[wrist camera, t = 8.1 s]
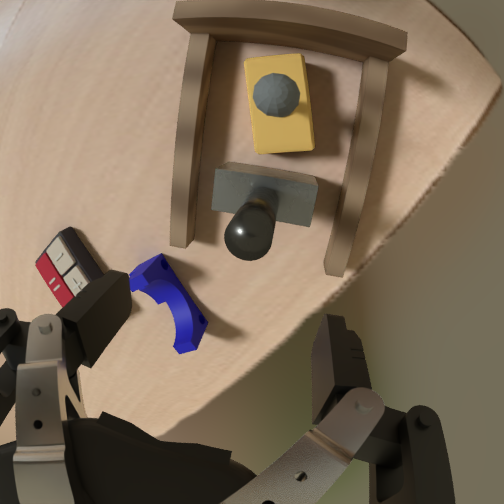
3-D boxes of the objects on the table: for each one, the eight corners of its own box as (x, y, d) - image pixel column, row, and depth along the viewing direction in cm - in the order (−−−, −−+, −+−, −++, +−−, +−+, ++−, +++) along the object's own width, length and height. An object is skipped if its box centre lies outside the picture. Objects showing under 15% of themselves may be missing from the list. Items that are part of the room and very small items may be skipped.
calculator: (56, 232, 34) (113, 317, 38) (74, 223, 38) (127, 302, 42) (31, 264, 38) (80, 336, 41) (47, 254, 42) (93, 322, 45)
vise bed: (202, 26, 24) (176, 1, 17) (381, 52, 23) (407, 32, 16) (178, 236, 35) (151, 265, 28) (339, 265, 34) (349, 302, 27)
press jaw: (228, 161, 30) (178, 189, 17) (314, 176, 30) (331, 214, 17) (224, 196, 32) (176, 247, 19) (307, 210, 31) (316, 273, 18)
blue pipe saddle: (139, 264, 38) (117, 286, 33) (162, 252, 37) (141, 273, 31) (184, 329, 42) (171, 356, 36) (208, 321, 40) (196, 349, 35)
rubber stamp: (312, 148, 29) (325, 159, 18) (259, 152, 30) (239, 166, 19) (302, 61, 25) (307, 23, 14) (248, 66, 26) (222, 32, 15)
